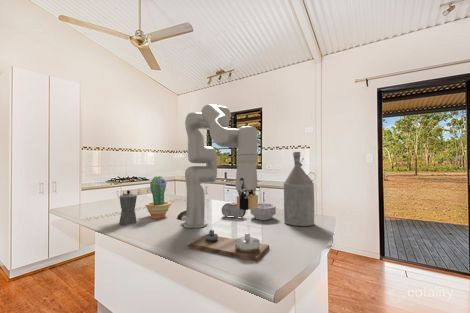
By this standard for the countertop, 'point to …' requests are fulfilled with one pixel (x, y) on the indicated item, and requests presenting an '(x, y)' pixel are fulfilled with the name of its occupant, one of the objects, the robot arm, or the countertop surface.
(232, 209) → the tin
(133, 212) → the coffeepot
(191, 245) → the board
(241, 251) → the hub
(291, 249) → the countertop surface
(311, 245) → the countertop surface
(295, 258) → the countertop surface
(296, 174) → the grey bottle
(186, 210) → the bread roll
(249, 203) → the hollow square block
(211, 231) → the round drawer knob
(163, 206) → the potted cactus
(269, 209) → the paper bowls
